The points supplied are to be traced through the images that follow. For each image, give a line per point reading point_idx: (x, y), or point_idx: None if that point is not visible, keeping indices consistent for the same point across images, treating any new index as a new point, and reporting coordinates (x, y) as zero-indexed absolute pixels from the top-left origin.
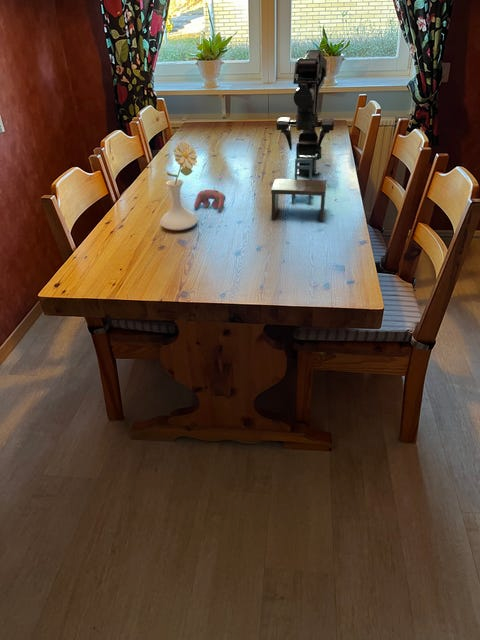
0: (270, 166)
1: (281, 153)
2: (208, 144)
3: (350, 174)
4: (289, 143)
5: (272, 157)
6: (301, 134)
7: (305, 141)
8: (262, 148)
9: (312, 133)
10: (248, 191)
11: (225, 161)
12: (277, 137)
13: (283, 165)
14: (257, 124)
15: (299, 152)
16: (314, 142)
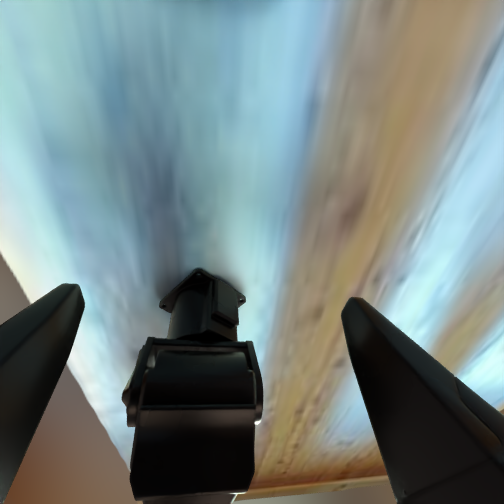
0: (316, 347)
1: (271, 407)
2: None
3: (34, 301)
4: (411, 351)
5: (298, 390)
6: (241, 478)
7: (213, 426)
8: (310, 421)
9: (164, 494)
10: (491, 120)
11: None
12: (269, 454)
13: (277, 354)
14: (296, 479)
15: (244, 360)
16: (153, 422)
